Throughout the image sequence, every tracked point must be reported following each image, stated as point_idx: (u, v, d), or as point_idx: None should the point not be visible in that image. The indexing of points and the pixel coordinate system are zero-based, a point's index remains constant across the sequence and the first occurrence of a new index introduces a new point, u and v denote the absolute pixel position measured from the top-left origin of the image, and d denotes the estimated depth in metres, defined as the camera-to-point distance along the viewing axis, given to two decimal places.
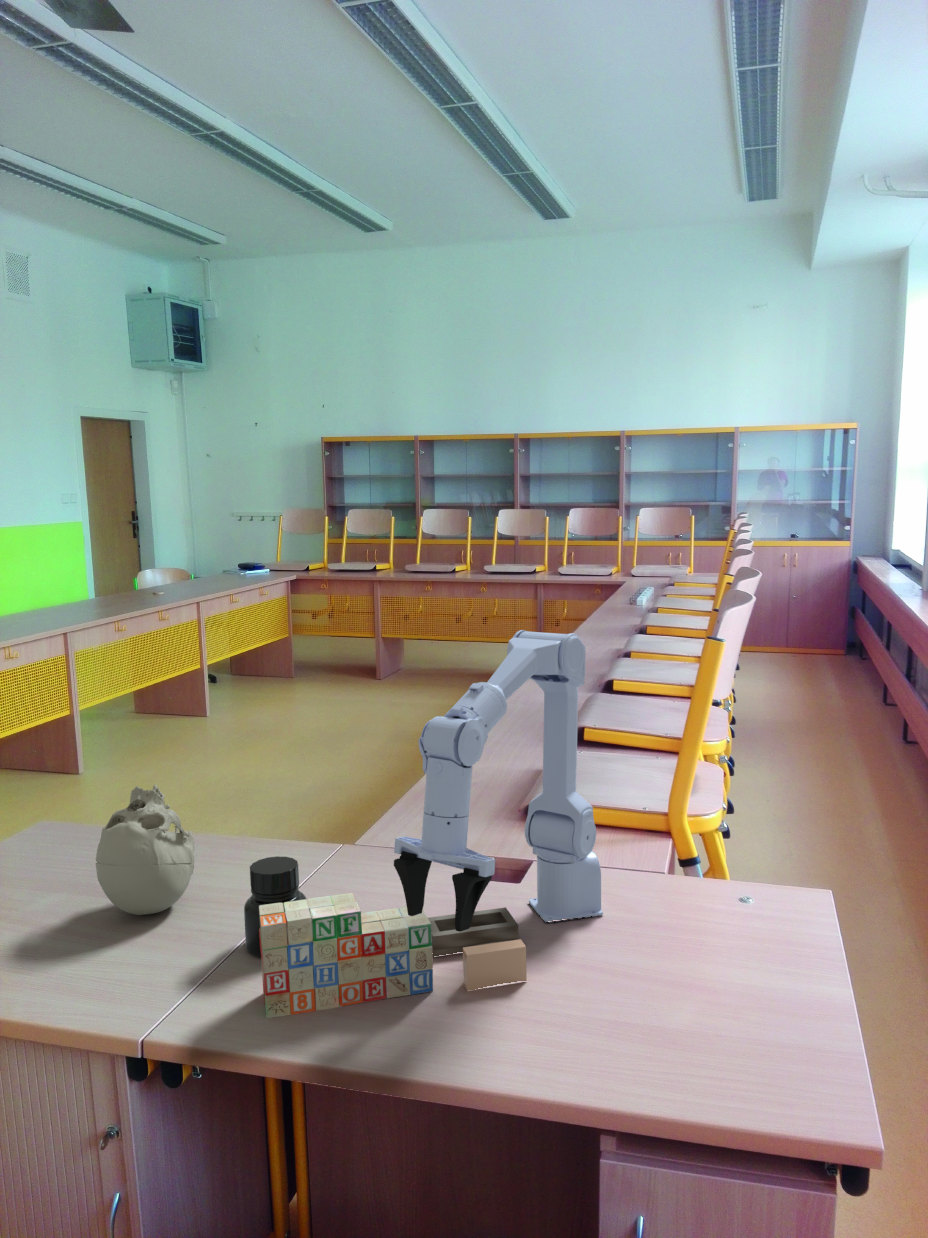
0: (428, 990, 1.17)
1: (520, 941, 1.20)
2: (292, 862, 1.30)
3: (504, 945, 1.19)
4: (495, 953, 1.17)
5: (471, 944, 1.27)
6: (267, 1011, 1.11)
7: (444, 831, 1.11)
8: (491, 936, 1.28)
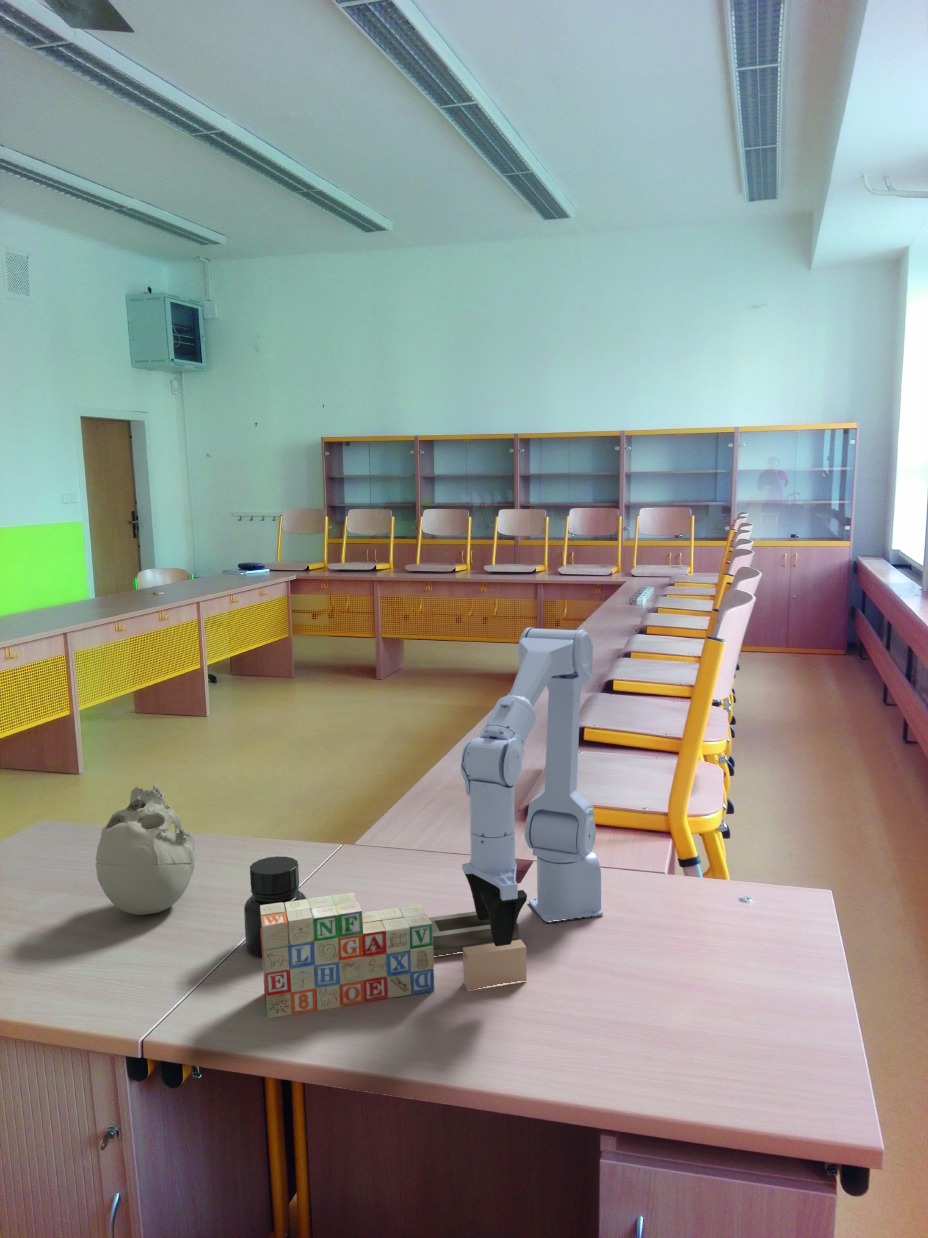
0: (429, 990, 1.17)
1: (520, 941, 1.20)
2: (292, 862, 1.30)
3: (504, 945, 1.19)
4: (495, 953, 1.17)
5: (471, 944, 1.27)
6: (268, 1011, 1.11)
7: (478, 849, 1.15)
8: (491, 936, 1.28)
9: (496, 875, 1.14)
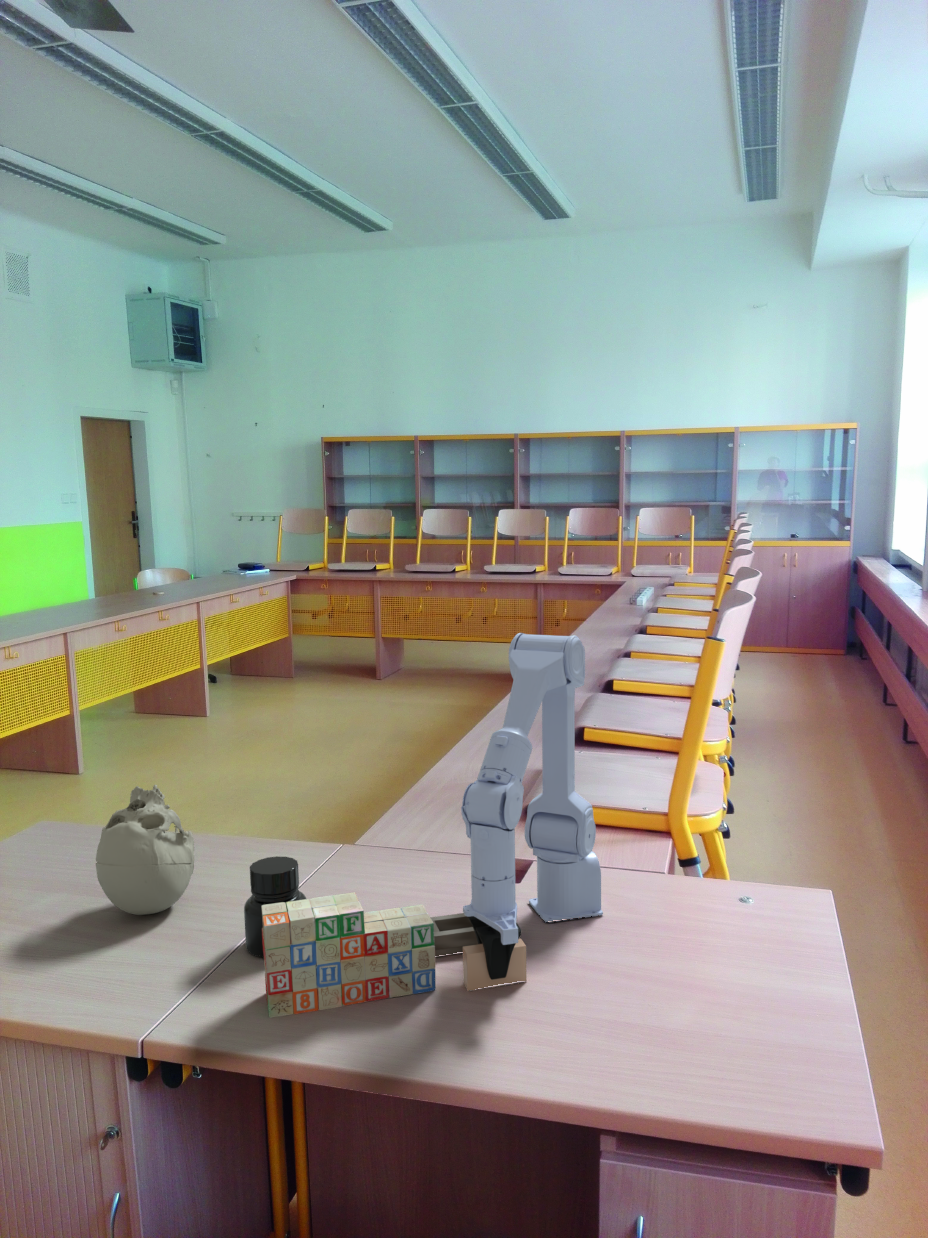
0: (431, 989, 1.17)
1: (520, 940, 1.20)
2: (292, 862, 1.30)
3: None
4: None
5: (471, 944, 1.27)
6: (270, 1011, 1.11)
7: (479, 892, 1.15)
8: None
9: (497, 918, 1.15)
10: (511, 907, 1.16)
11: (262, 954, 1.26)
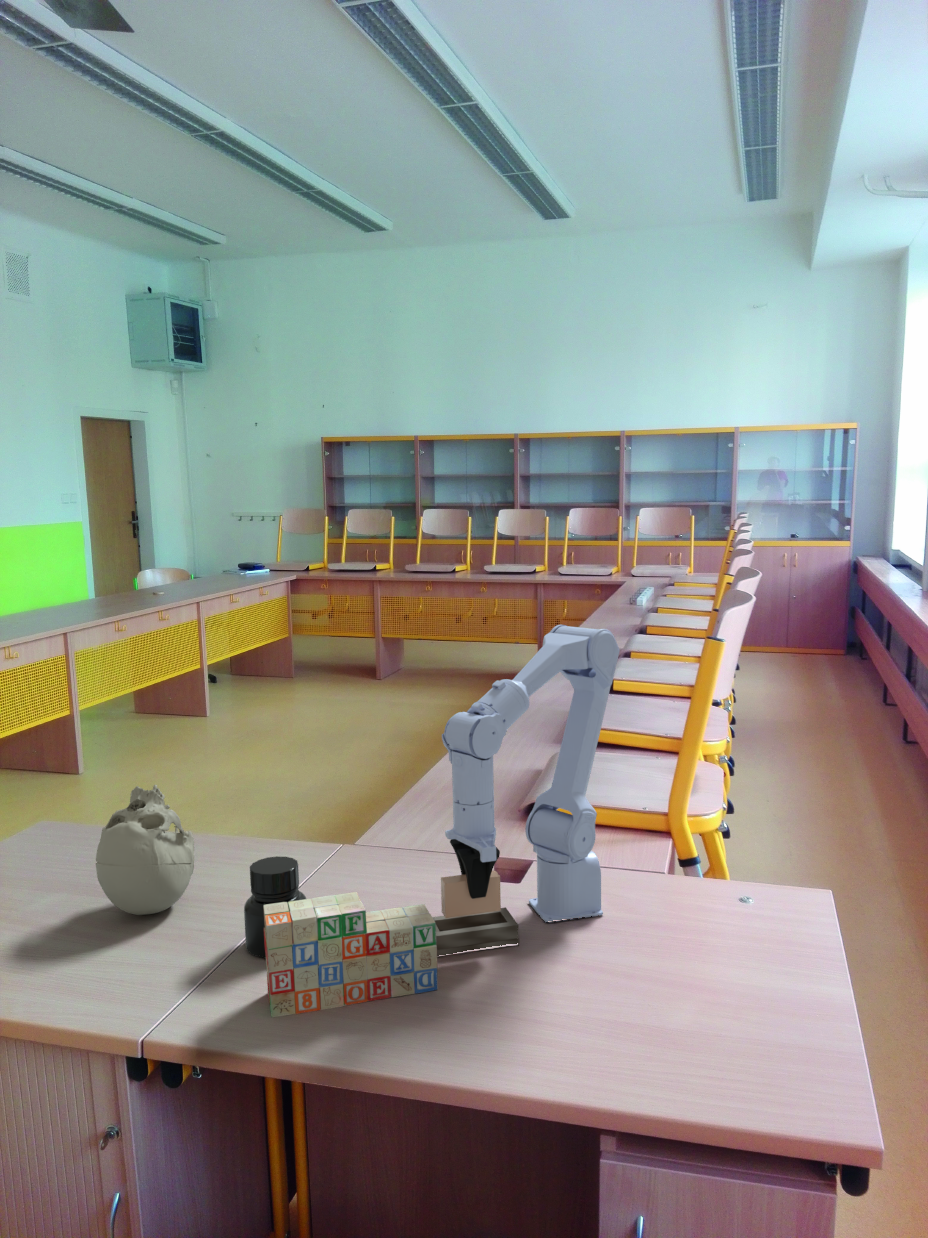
0: (432, 989, 1.17)
1: (495, 872, 1.28)
2: (292, 862, 1.30)
3: None
4: None
5: (471, 944, 1.27)
6: (272, 1010, 1.12)
7: (460, 816, 1.23)
8: (491, 936, 1.28)
9: (477, 840, 1.23)
10: (490, 830, 1.24)
11: (262, 954, 1.26)
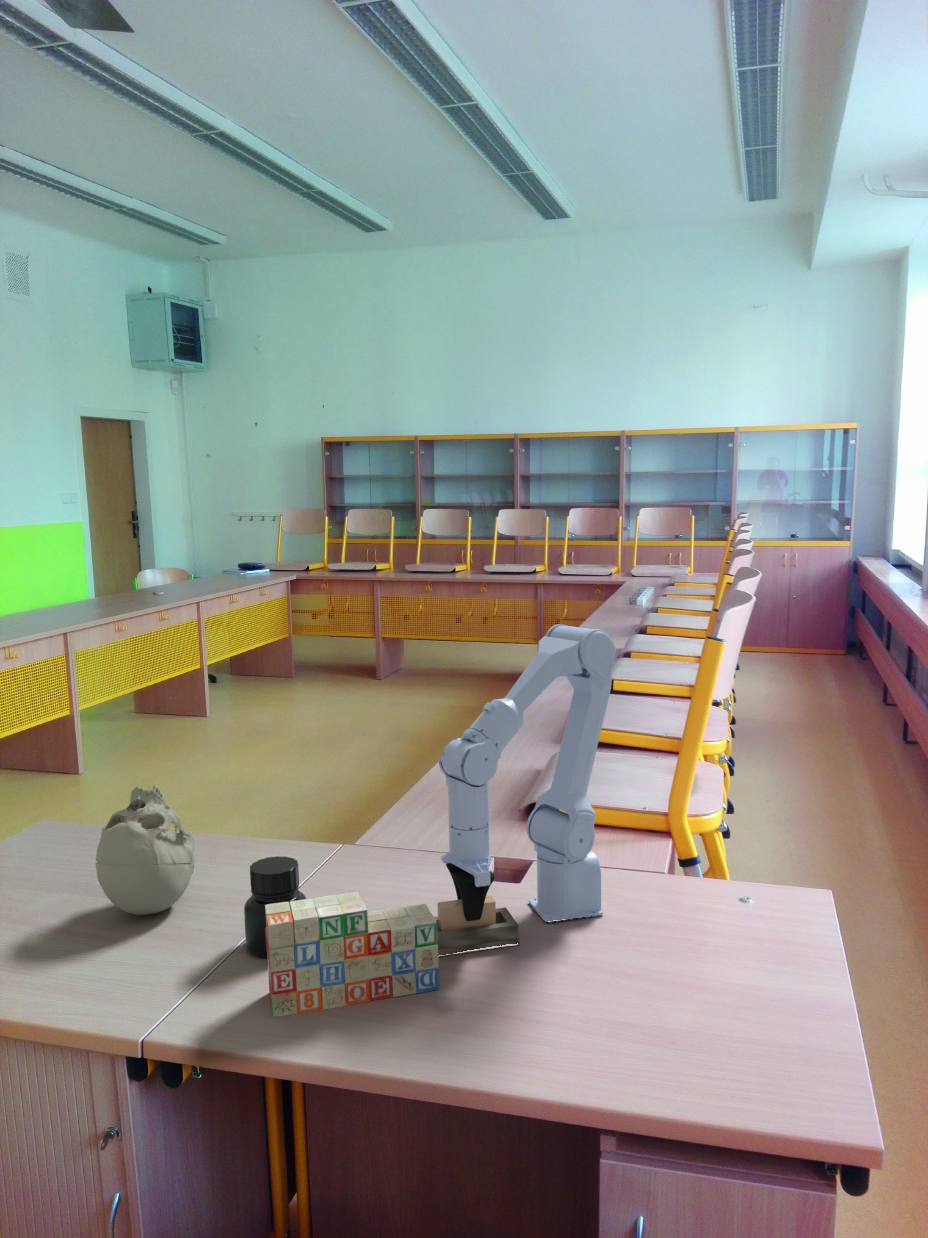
0: (434, 988, 1.17)
1: (490, 897, 1.31)
2: (292, 862, 1.30)
3: None
4: None
5: (471, 944, 1.27)
6: (274, 1010, 1.12)
7: (456, 841, 1.26)
8: (491, 936, 1.28)
9: (472, 864, 1.26)
10: (485, 855, 1.27)
11: (262, 954, 1.26)
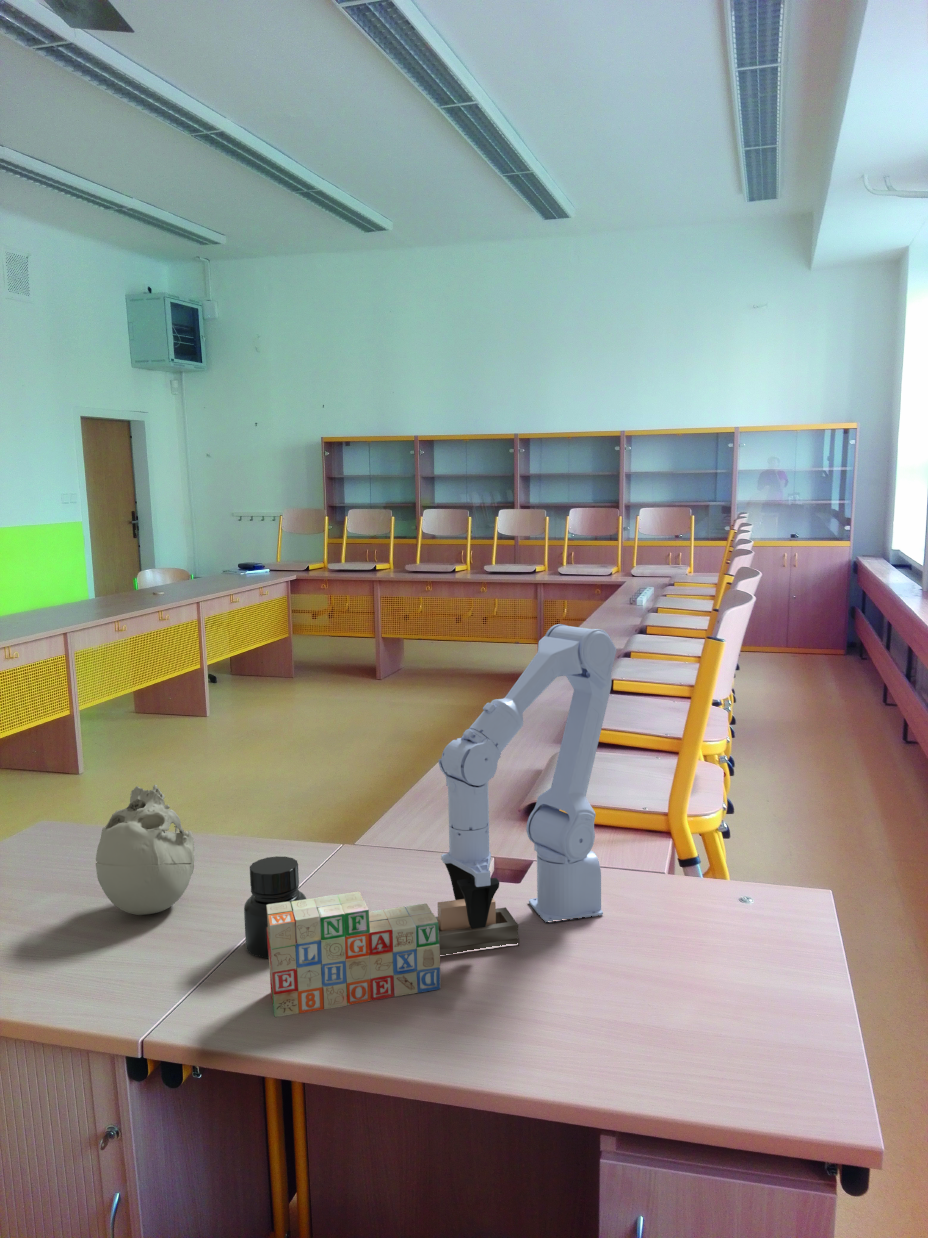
0: (435, 988, 1.17)
1: None
2: (292, 862, 1.30)
3: None
4: None
5: (471, 944, 1.27)
6: (275, 1010, 1.12)
7: (456, 841, 1.26)
8: (491, 936, 1.28)
9: (472, 864, 1.26)
10: (485, 855, 1.27)
11: (262, 954, 1.26)
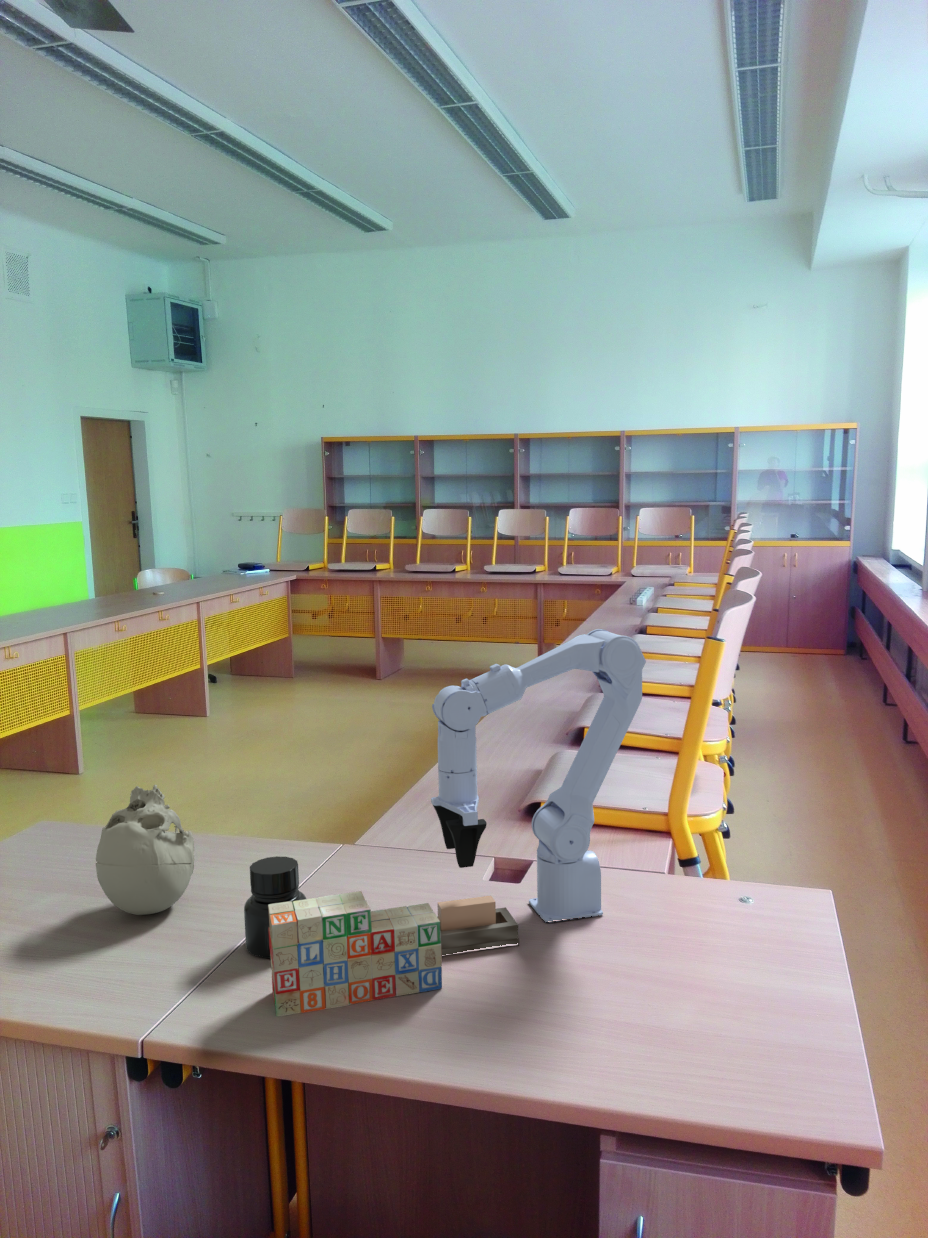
0: (437, 988, 1.17)
1: (490, 897, 1.31)
2: (292, 862, 1.30)
3: (475, 900, 1.30)
4: (467, 907, 1.29)
5: (471, 944, 1.27)
6: (277, 1009, 1.12)
7: (445, 784, 1.31)
8: (491, 936, 1.28)
9: (460, 806, 1.31)
10: (473, 797, 1.32)
11: (262, 954, 1.26)
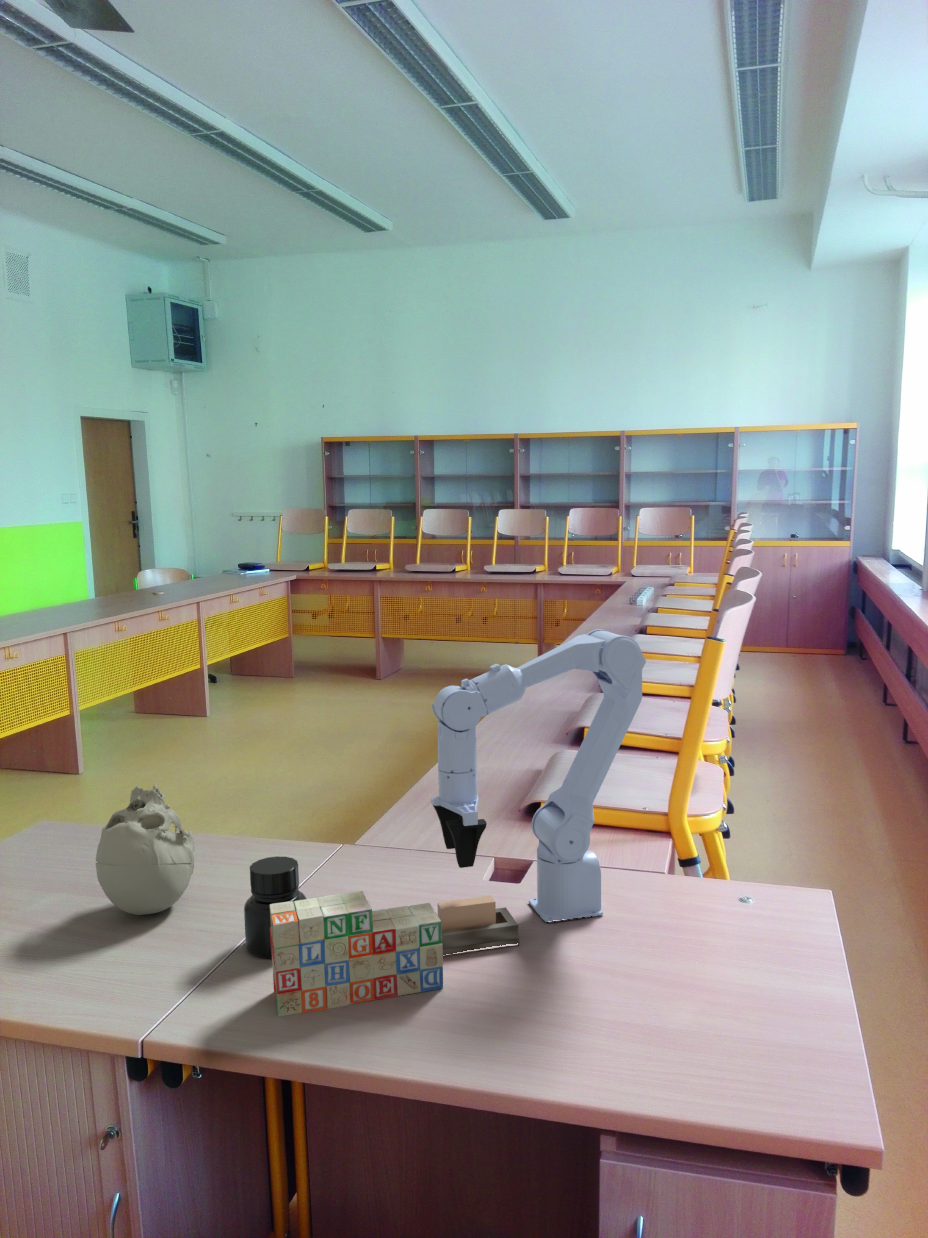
0: (438, 987, 1.17)
1: (490, 897, 1.31)
2: (292, 862, 1.30)
3: (475, 900, 1.30)
4: (467, 907, 1.29)
5: (471, 944, 1.27)
6: (279, 1009, 1.12)
7: (445, 784, 1.31)
8: (491, 936, 1.28)
9: (460, 806, 1.31)
10: (473, 797, 1.32)
11: (262, 954, 1.26)
